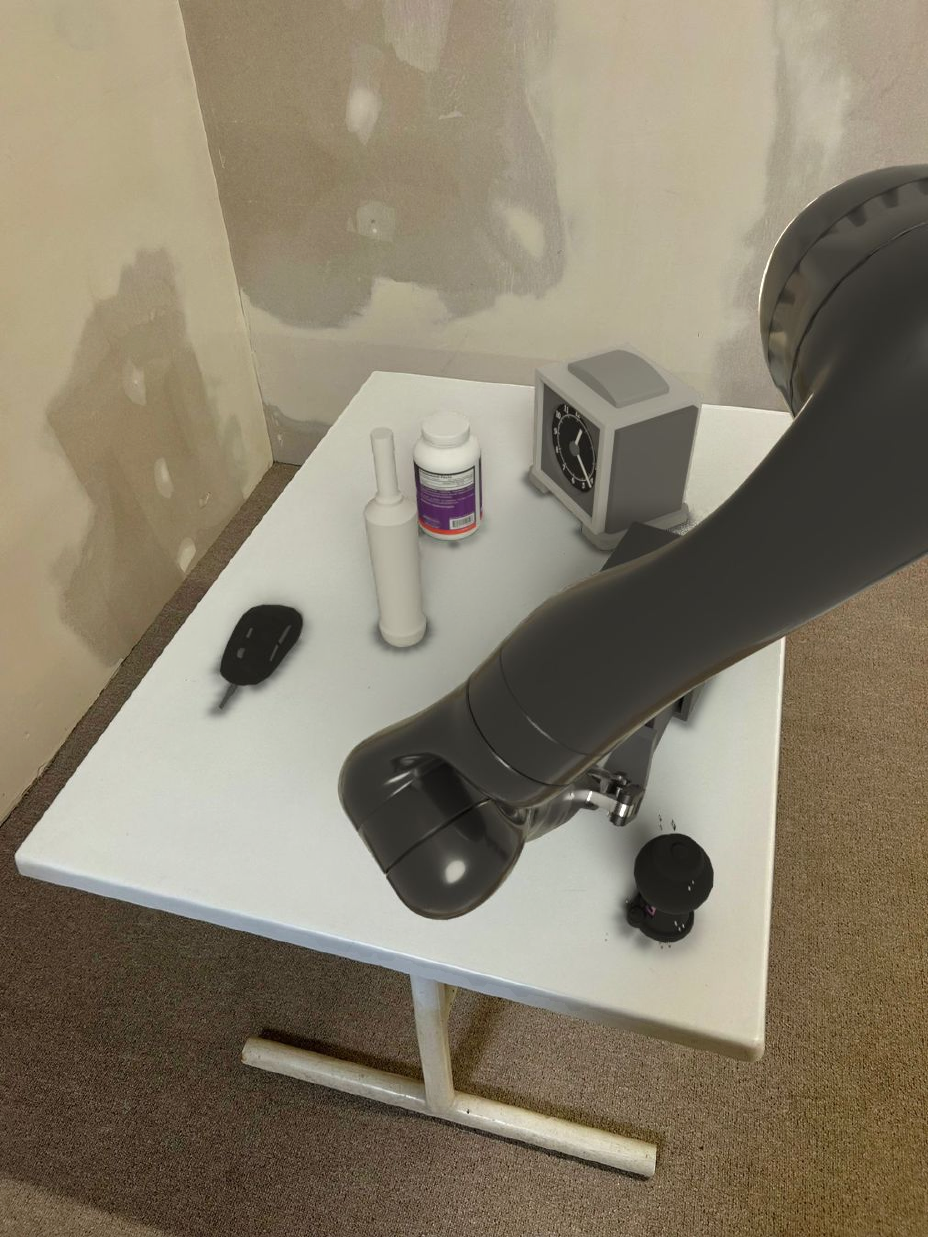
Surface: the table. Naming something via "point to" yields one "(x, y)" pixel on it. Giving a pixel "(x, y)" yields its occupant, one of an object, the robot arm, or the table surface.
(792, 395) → the robot arm
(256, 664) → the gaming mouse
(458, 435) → the pill bottle
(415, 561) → the bottle
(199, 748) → the table surface
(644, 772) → the open grey drawer
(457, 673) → the table surface
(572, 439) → the alarm clock
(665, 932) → the gumball machine
